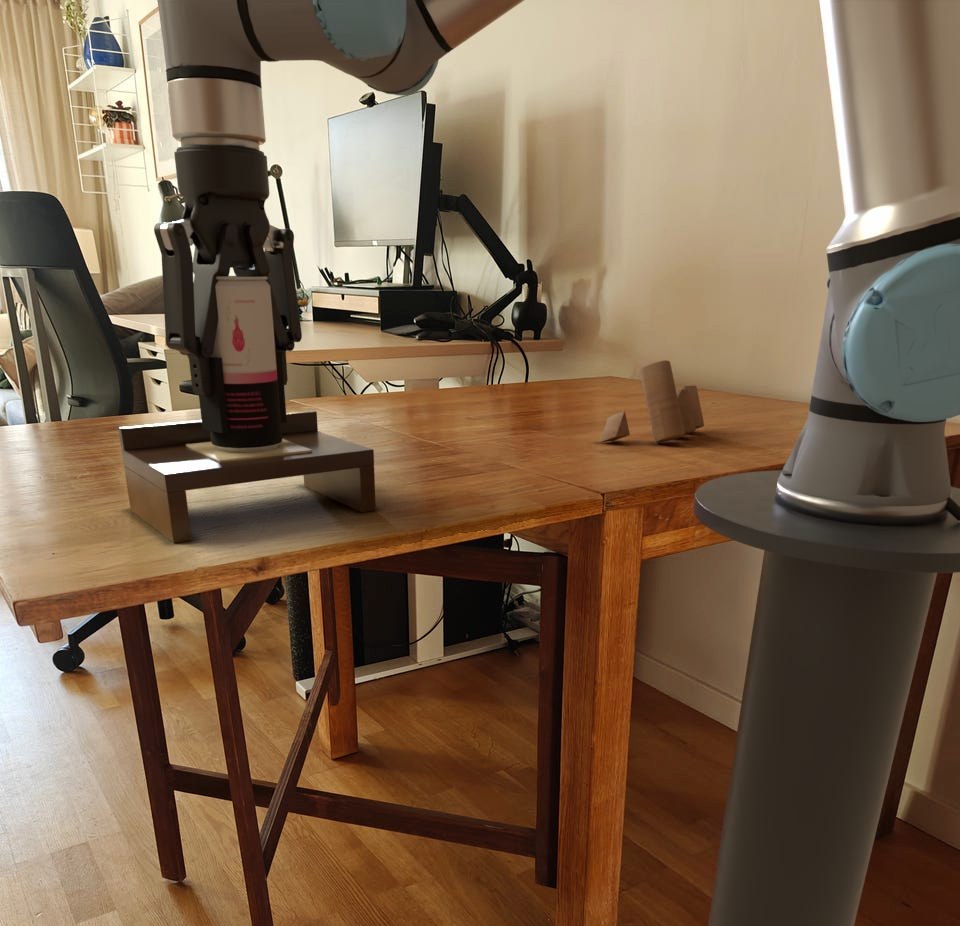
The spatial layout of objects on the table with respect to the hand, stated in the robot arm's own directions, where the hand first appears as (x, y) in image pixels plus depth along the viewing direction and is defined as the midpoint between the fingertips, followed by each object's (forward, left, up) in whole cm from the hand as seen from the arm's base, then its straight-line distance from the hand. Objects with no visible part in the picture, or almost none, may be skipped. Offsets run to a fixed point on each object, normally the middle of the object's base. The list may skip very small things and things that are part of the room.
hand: (245, 425), depth 81 cm
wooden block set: (+5, -63, -8) cm, 64 cm away
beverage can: (0, 0, -2) cm, 2 cm away
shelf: (0, 0, -8) cm, 8 cm away
